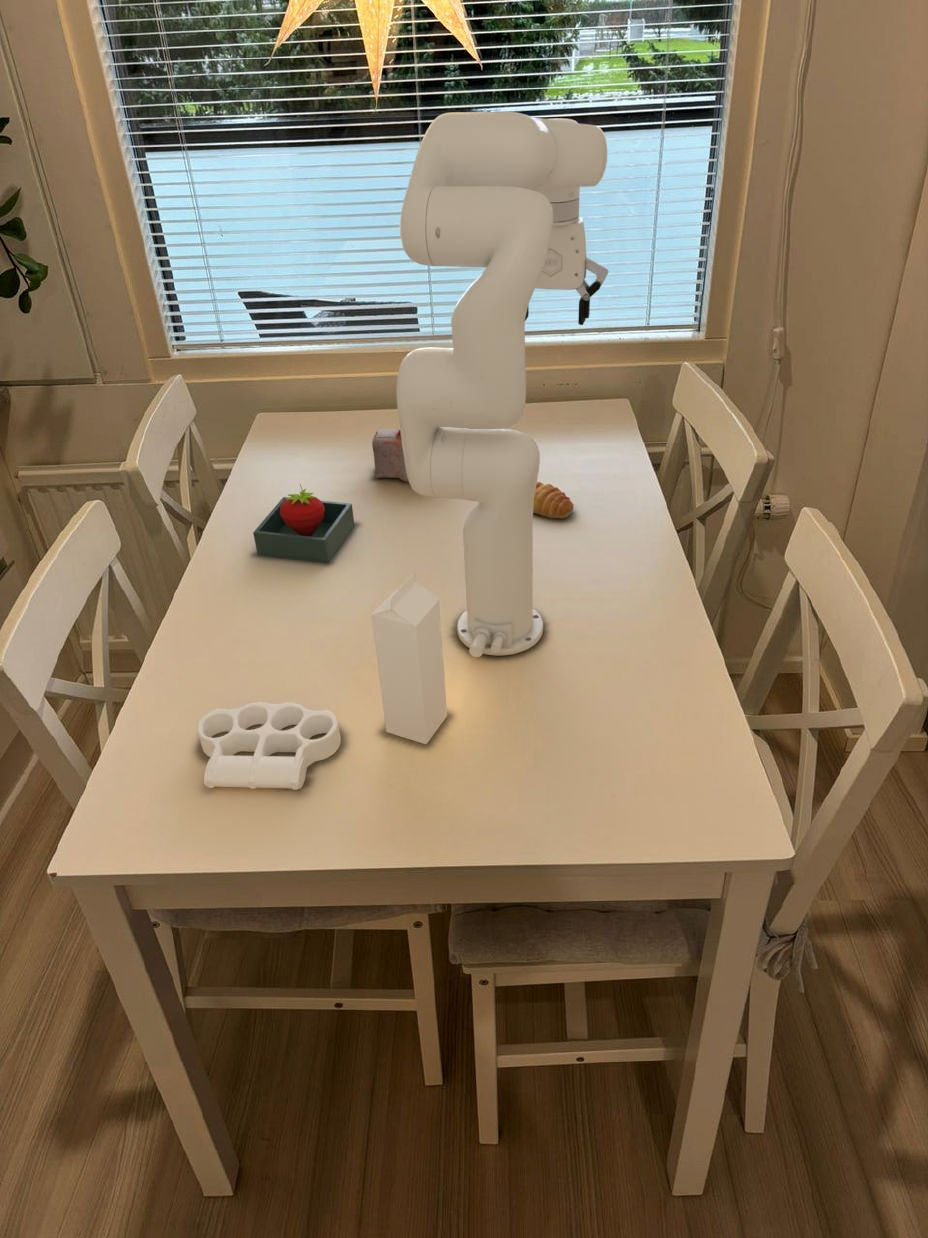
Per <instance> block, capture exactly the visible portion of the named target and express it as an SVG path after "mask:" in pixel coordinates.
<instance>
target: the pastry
mask: <svg viewBox="0 0 928 1238" xmlns="http://www.w3.org/2000/svg"><path fill="white" fill-rule="evenodd" d="M574 507H575V506H574V503H573V502H572V501H571V498H570V497H568V496H567V495H566V493H565V492H563V491H562V490H561V489H559V488H558V487H557V486H553V484H550V483H546V484H544V483H542V482H541V481H537V484H536V491H535V497H534V506H533V514H537V515H540V516H542V517H546V518H550V519H564V518H567V517H568V516H570V515H571V514H572V513H573V511H574Z"/></svg>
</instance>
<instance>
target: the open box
mask: <svg viewBox="0 0 928 1238" xmlns="http://www.w3.org/2000/svg"><path fill="white" fill-rule="evenodd" d="M289 497H290V496H288V497H287V496H283V497H282V498H281V499H280V500H279V502H278V503H277V504H276V505H275V506H274V507H273V508H272V510H271V511H270V512H269V513H268V514H267V516H265V518H264V519H263V520H262V521H261V523H260V524H259V525H258V526H257V527H256V528H255V530H254V531H252V534H253V538H254V544H255V548H256V553H257V555H258V556H265V557H274V558H281V559H289V560H291V559H292V560H299V561H309V562H317V563H318V562H319V563H327V564H329V563H330V562H331V560H332V559H333V557H334V556H335V554H336V553H337V552H338V551H339V549H340V547H341V546H342V544H343V543H344V542H345V540H346V539H347V537H348V536H349V534H350V533H351V532H352V530H353V528H355V525H356V524H355V517H354V511H353V510H354V509H353V503H350V502H341V501H331V500H321V501H322V503H323V505H324V508H325V510H324V516H323V520H322V521H321V523H320V525H319V527H318V528H317V529H316V531H315V532H314V533H313V534H312V536H311V537H310V536H301V535H299V534H297V533H296V532H294V531H293V530H292V529H291V528H290V527H289V526H287V525H286V524H285V522H284V521H283V519H282V517H281V515H280V506H281V505H282V504H283V503H284V501H285V499H286V498H289Z"/></svg>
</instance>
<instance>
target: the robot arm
mask: <svg viewBox="0 0 928 1238" xmlns="http://www.w3.org/2000/svg"><path fill="white" fill-rule="evenodd" d="M608 149H609V148H608V142H607V138H606V135H605V133H604V131H603V130H602V128H601V127H600V126H598V125H594V124H589V123H588V124H587V123H578V121H577V120H574V119H571V118H561V117H560V118H559V117H557V118H555V117H554V118H541V117H534V116H530V115H528V114H524V113H521V112H516V111H475V112H474V111H473V112H471V111H466V112H457V111H456V112H445V113H442V114H439V115H438V116H436V117H435V118H434V119H433V120H432V121H431V123H430V125H429V127H428V128H427V129H426V131H425V133H424V135H423V137H422V140H421V142H420V145H419V147H418V151H417V153H416V157H415V160H414V164H413V167H412V170H411V174H410V177H409V181H408V184H407V188H406V191H405V194H404V198H403V202H402V206H401V211H400V218H399V236H400V242H401V246H402V249H403V251H404V253H405V254H406V256H407V257H408V259H410V260H411V261H413V262H414V263H416V264H417V265H418V264H419V265H422V266H428V267H456V268H457V267H459V268H484V270H483V271H482V272H481V274H479V276H478V277H477V278H476V279H475V280H474V281H473V282H472V283H471V284H470V285H469V286H468V287H467V288H466V290H465V291H464V293H463V294H462V295H461V297H460V298H459V300H457V303H456V304H455V306H454V308H453V310H452V313H451V318H450V325H451V338H452V339H451V340H452V347H429V346H427V347H419V348H416V349H413V350H411V351H409V352H408V353H407V354H406V356H405V357H404V358H403V359H402V360H401V363H400V365H399V370H398V373H397V378H396V406H397V407H396V408H397V415H398V424H399V430H400V431H401V439H402V446H403V453H404V461H405V467H406V473H407V478H408V483H409V486H410V487H411V489H412V490H413V491H414V492H415V493H417V494H418V495H421V496H425V497H431V498H437V499H438V498H439V499H452V500H463V501H464V500H465V501H468V502H469V501H470V502H477V504H476V505H475V506H474V507H473V508H472V510H471V511H470V513H468V515H467V517H466V519H465V520H464V521H465V522H464V525H463V528H462V539H463V540H462V541H463V558H464V561H463V562H464V574H465V575H464V579H465V595H466V597H465V599H466V610H465V611H464V612H463V613H462V614H461V615H460V616H459V618H458V620H457V625H456V630H457V635H458V638H459V640H460V641H461V643H462V644H463V645H465V646H466V647H467V648H468V649H469V650H468V651H469V654H470V656H472V657H474V658H481V657H482V656H483V655H486V656H487V655H488V656H510V655H511V656H512V655H515V654H519V653H522V652H525V651H527V650H529V649H530V648H532V647H534V646H535V645H536V644H537V643H538V642H539V641H540V639H541V638H542V636H543V632H544V620H543V618H542V616H541V614H540V613H539V611H537V610H536V609H535V608H534V605H533V603H534V601H533V600H534V599H533V598H534V597H533V596H534V595H533V594H534V593H533V589H534V588H533V587H534V586H533V581H534V580H533V579H534V576H533V573H534V572H533V571H534V570H533V569H534V567H533V566H534V565H533V562H534V561H533V558H534V557H533V555H534V554H533V551H534V549H533V548H534V547H533V546H534V544H533V538H534V533H533V532H534V530H533V528H534V527H533V526H534V513H533V506H534V497H535V491H536V484H537V482H538V479H539V474H540V473H539V471H540V464H541V461H540V460H541V455H540V454H541V453H540V448H539V446H538V444H537V442H536V441H535V439H533V437H531V436H530V435H529V434H527V433H526V432H525V433H524V432H523V431H519V430H515V429H512V428H511V427H513V426H515V425H517V424H518V423H519V422H520V420H521V419H522V417H523V416H524V411H525V408H526V400H527V367H526V366H527V365H526V363H527V362H526V332H525V330H526V328H525V327H526V325H525V324H526V323H525V322H526V321H527V320H528V318H529V314H530V313H529V309H530V308H529V305H530V301H531V299H532V296H533V294H534V291H535V290H537V289H538V290H541V289H542V290H563V291H564V290H565V291H572V290H576V292H577V294H579V296H580V299H579V300H578V319H577V321H578V322H577V324H578V325H579V326H583V325H584V323H585V322H586V320H587V319H589V318H590V311H591V310H590V309H591V308H590V307H591V297H592V296H594V294H596V293H597V292H598V291H599V290H600V289H601V287H602V285H603V284H604V281H605V280H606V278H607V276H608V275H609V269H607V268H606V267H604V266H603V265H601V264H599V263H598V262H596V261H594V260H592V259H591V258H589V257H587V243H586V242H587V241H586V232H585V224H584V219H583V217H580V196H581V195H580V193H581V191H580V190H581V188H587V187H596V186H597V185H599V183H600V182H601V181H602V179H603V178H604V175H605V173H606V170H607V166H608V159H609V151H608ZM587 271H589V272H591V273H593V275H595V276H596V278H595V280H594V281H593V282H592V283H591V284H590V285H589V283H588V282H587V280H585V279H586V277H587Z"/></svg>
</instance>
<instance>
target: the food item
mask: <svg viewBox="0 0 928 1238" xmlns="http://www.w3.org/2000/svg"><path fill="white" fill-rule="evenodd" d="M371 445H372V452H373V462H374V469H375V471H374V472H375V473H374V474H375V478H376V479H381V478H386V479H387V478H389V479H400V480H401V481H403V482H408V483H409V481H408V478H407V473H406V467H405V461H404V453H403V446H402V439H401V431H400V429H393V428H389V429H387V428H380V429H378V430H377V431H376V432H375V434H374V435H373V437H372V441H371Z"/></svg>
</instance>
